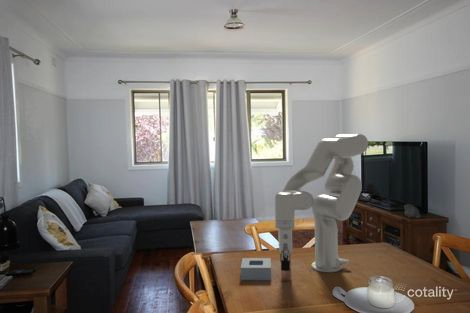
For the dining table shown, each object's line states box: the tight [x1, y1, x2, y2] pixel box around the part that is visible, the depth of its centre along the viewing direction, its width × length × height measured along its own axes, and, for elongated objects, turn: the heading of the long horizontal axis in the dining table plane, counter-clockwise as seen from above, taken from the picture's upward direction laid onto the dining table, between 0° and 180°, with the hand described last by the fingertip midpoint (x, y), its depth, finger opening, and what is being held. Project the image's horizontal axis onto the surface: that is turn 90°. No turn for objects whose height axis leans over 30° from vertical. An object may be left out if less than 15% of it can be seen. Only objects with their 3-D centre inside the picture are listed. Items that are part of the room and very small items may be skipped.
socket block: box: [240, 257, 272, 281], centre depth 159 cm, size 12×12×5 cm
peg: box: [280, 253, 292, 282], centre depth 153 cm, size 4×4×10 cm
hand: (284, 266), depth 152 cm, fingers open, 9 cm apart
